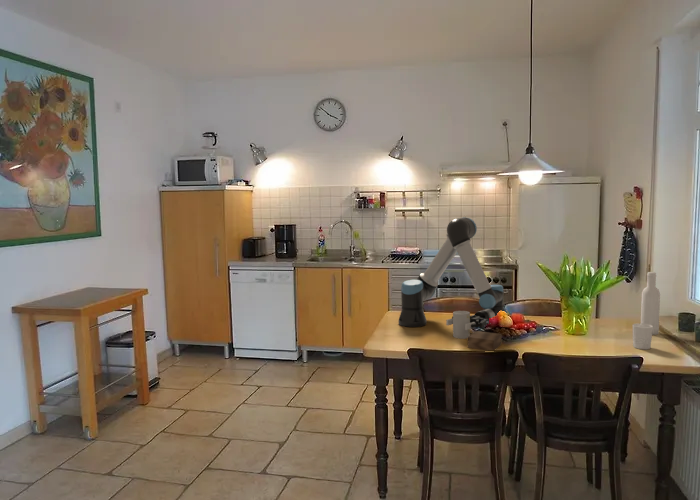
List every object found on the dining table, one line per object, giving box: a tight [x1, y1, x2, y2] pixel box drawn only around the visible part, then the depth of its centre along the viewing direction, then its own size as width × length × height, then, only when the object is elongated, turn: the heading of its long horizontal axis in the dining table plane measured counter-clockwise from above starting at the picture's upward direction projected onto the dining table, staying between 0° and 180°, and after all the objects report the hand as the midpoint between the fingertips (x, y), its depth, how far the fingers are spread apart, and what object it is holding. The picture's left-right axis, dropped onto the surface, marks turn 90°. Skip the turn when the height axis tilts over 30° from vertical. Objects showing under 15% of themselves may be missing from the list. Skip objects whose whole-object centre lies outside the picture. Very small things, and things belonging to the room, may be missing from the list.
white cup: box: [632, 322, 653, 350], centre depth 232 cm, size 8×8×10 cm
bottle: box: [640, 271, 661, 336], centre depth 255 cm, size 8×8×30 cm
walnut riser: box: [467, 330, 502, 351], centre depth 239 cm, size 12×12×5 cm
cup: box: [452, 310, 471, 340], centre depth 256 cm, size 8×8×12 cm
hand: (456, 324), depth 254 cm, fingers open, 11 cm apart
